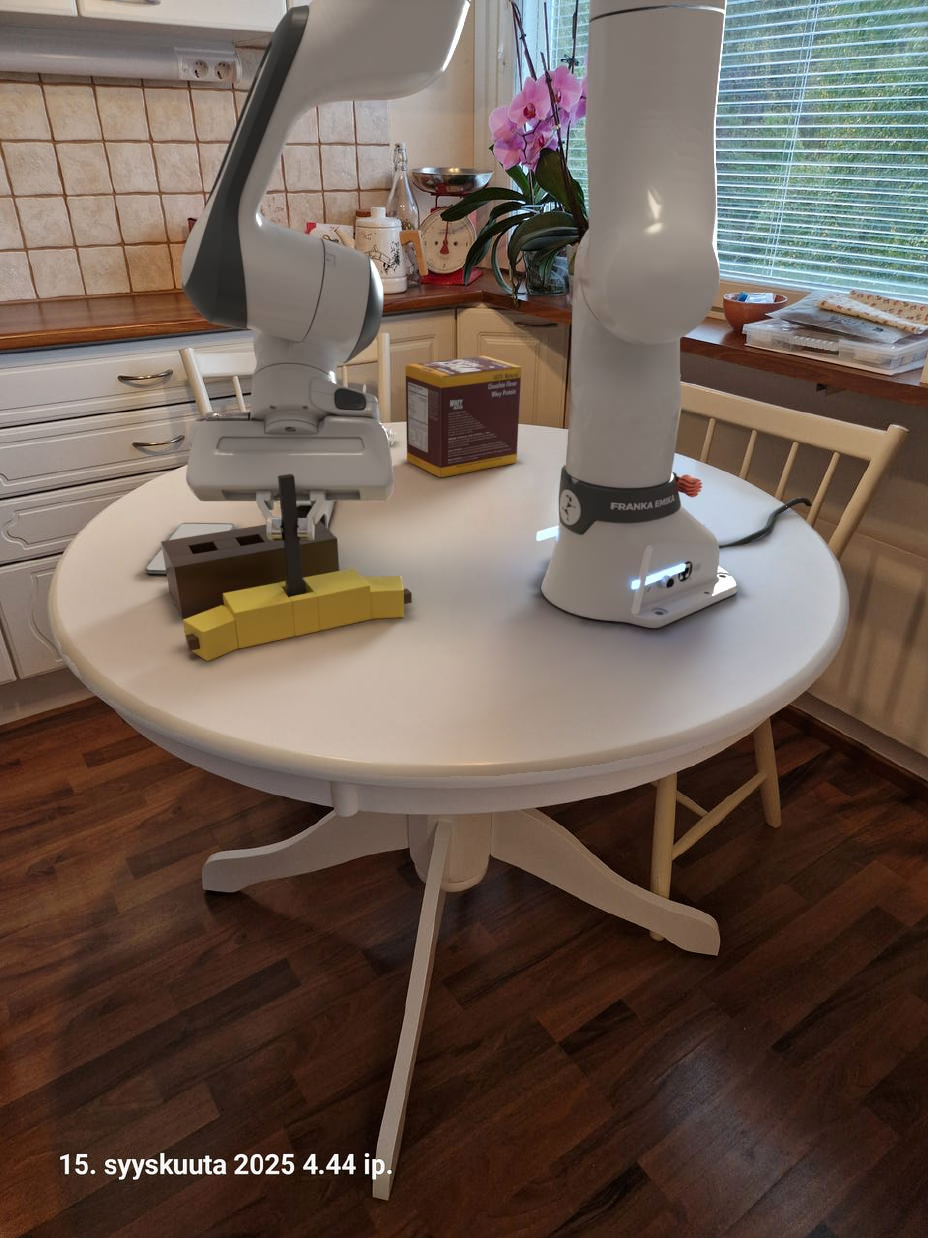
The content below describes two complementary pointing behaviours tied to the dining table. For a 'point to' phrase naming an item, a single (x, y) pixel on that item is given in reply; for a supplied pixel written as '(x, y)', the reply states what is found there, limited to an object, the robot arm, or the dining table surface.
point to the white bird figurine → (390, 433)
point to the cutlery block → (237, 564)
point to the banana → (293, 611)
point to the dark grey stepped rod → (291, 536)
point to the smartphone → (184, 531)
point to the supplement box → (462, 414)
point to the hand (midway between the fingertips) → (290, 538)
